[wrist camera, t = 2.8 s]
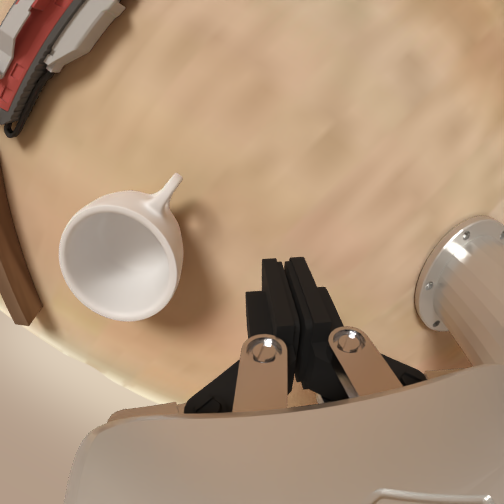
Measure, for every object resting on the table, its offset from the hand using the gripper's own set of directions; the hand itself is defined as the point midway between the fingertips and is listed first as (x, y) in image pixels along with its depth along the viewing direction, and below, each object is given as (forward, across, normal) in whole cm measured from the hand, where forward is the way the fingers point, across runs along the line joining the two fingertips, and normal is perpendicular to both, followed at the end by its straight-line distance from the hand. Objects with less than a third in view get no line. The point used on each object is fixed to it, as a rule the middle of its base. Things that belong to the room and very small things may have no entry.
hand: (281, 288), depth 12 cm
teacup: (+10, +8, 0) cm, 12 cm away
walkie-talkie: (+10, +13, -16) cm, 23 cm away
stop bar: (+10, +22, 0) cm, 24 cm away
